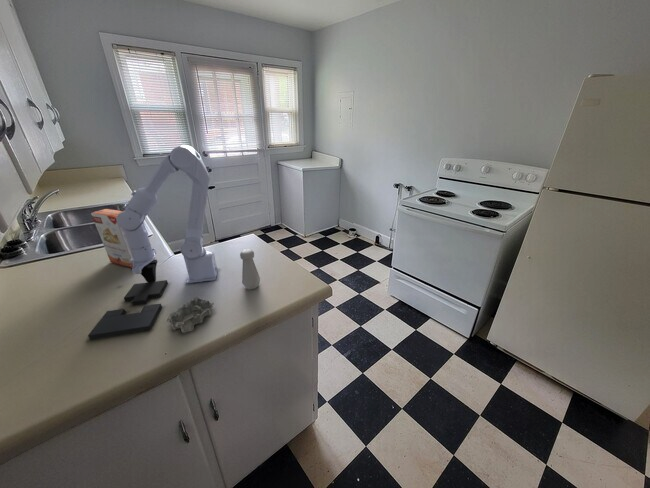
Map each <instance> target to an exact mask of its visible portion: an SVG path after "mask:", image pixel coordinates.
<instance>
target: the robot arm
mask: <svg viewBox="0 0 650 488" xmlns="http://www.w3.org/2000/svg"><path fill="white" fill-rule="evenodd" d="M179 171H182V172H183V173H185V174H186V176H187V177H189V178H190V180H191V181H192V187H191V195H190V202H189V209H188V210H189V211H188V218H187V219H188V220H187V226H186V233H185V236H184V237H183V242H182V244H181V246H180V253H181V255H182V256H183V260H184V263H185V267H186V271H187V275H188V276H187V278H186V280H185V284H194V283H195V284H196V283H203V282H209V281H215V280H216V279H217V275H218V271H219V269H218V265H217V261H216V255H215V253H214V252H213V251H207V249H206V248H205V247H203V246H204V243H205V238H204V236H203V229H204V221H205V213H206V207H207V199H208V194H209V193H208V192H209V185H210V179H211V178H210V176H211V175H210V173H209V172H208V169H207V167H206V165H205V162H204V161H203V158H202V157H201V154H200V153H198V151H197V150H196V149H195V148H194V147H193V146H191V145H189V144H180V145H179V146H176V147H174V148H173V149H172V150H171V151H170V153H169V154H167V156H165V157H164V159H163V160H162V161H161V162H160V163H159V165H158V166H157V168H156V170H155V171H154V173H153V174H152V176H151V178H150V179H149V181H148V183H147V184H145V185H146V186H145V187H140V188H137V189H136V190H133V191H132V192H131V194H130V195H131V198H130V199H129V201H128V202H127V203H125V204H124V205H123V206H122V208H123V212H121V213H119V214H118V217H117V224H118V225H119V227H121V228H122V229H123V231H124V234H125V237H126V240H127V243H128V246H129V248H130V251H131V254H132V257H133V258H132V259H131V260H130V262H133V268H132V269H131V271H132V274H133V275H141V276H142V277H143V279H144V280H145V281H146V283H147V282H155V281H157V265H158V259H156V254H157V251H156V248H153V247H152V244H151V240H150V238H149V235H148V230H147V229H146V226H145V223H144V222H145V220H146V217H147V216H148V215H149V213H150V211H151V210H152V209H153V207H154V206H155V205H156V203H157V202H158V200H159V199H158V196H157V193H158V191H160V189H161V187H162V186H163V185H164V184H165V182H166V181H167V179H168V178H169V177H170V176H171V174H175V173H177V172H179Z"/></svg>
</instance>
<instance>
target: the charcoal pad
mask: <svg viewBox="0 0 650 488" xmlns="http://www.w3.org/2000/svg"><path fill="white" fill-rule="evenodd" d="M162 309H163V306H162V303H155V304H148V305H147V304H145V305H143V307H142V309H141V310H140V311H139V312H132V313H127V311H126V309H125V308H119V309H112V310H106V312H105V313H104V315H102V316H101V318H100V319H99V321H98V322H97V323H96V324H95V326H94V327H93V328H92V329H91V331H90V332H89V333H88V335H87V337H88V339H89V340H90V341H91V340H98V339H104V338H110V337H116V336H117V337H118V336H122V335H128V334H129V335H130V334H136V333H141V332H148V331H152V329H153V326H154V325H155V322H156V320H157V318H158V316H159V315H160V313H161V311H162Z"/></svg>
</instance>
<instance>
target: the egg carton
mask: <svg viewBox="0 0 650 488" xmlns="http://www.w3.org/2000/svg"><path fill="white" fill-rule="evenodd" d="M213 305H215V304H214V302H210V300H206V299H203V298H201V297H199V296H196V295H195V296H194V297H193V298H192V299H190V301H188V302H186V303H185V304H183V305H182V306H180V307H179V308H177V309H176V310H175V311H173V312H170V313H169V314H168V316H167V318H166V321H167V322H169V323H170V326H171V329H172V330H174V331H176V330H177V329H180V330H181V333H183V334H185V333H187V332H192V331H193V330H195V325H198V324H202V323H203V322H204V318H205V317H208V316H209V317H210V316H212V315H213Z"/></svg>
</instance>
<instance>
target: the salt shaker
mask: <svg viewBox="0 0 650 488" xmlns="http://www.w3.org/2000/svg"><path fill="white" fill-rule="evenodd" d="M239 258H240V259H241V260H242V270H241V271H242V272H241V273H242V274H241V283H242V285H243V287H245V289H247V290H250V291H251V290H255V289H257V288H258V287H259V285H260V282H261V276H260V274H259V271H258V269H257V266H256V264H255V260H254V258H255V251H253V250H252V249H249V248H247V249H243V250H241V251H240V253H239Z"/></svg>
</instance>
